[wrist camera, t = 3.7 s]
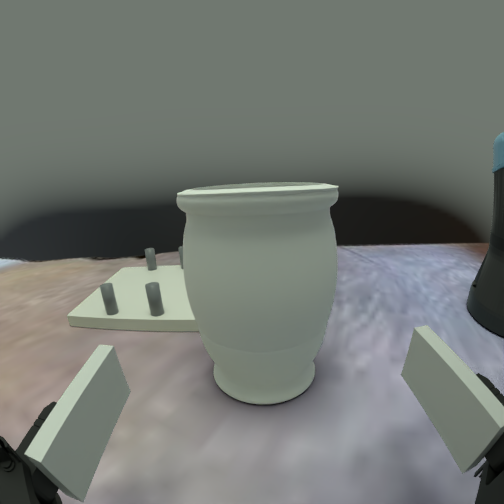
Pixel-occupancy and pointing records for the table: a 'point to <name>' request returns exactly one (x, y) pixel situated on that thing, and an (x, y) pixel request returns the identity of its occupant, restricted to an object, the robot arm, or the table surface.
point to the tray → (139, 300)
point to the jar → (261, 282)
